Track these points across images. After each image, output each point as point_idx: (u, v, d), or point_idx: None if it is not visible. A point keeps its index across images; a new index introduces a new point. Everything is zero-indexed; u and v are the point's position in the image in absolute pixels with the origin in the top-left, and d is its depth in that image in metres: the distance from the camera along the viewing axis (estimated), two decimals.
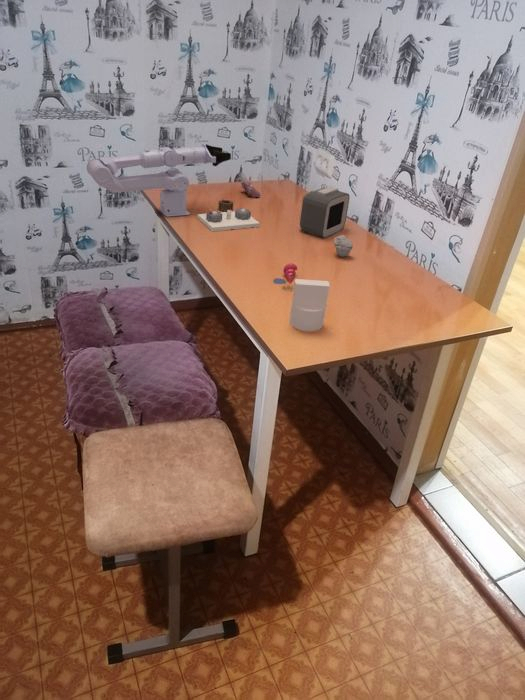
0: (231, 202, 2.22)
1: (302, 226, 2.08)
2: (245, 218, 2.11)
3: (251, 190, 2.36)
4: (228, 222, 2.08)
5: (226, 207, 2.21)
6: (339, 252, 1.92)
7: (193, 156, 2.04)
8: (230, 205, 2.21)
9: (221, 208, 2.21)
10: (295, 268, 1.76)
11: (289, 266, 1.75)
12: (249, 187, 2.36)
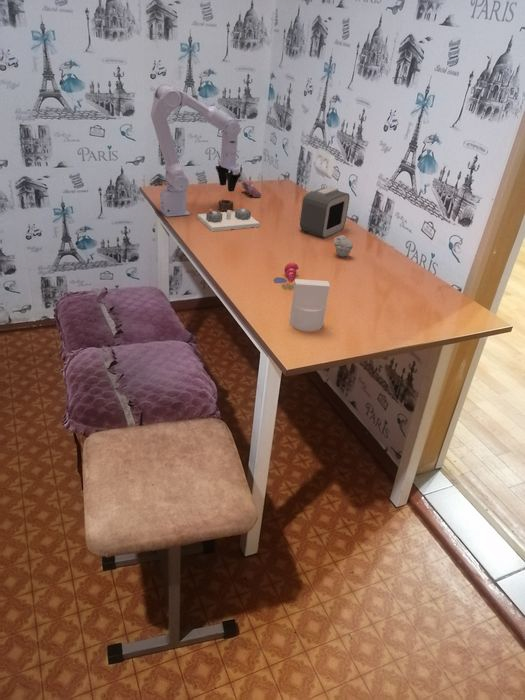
0: (231, 202, 2.22)
1: (302, 226, 2.08)
2: (245, 218, 2.11)
3: (252, 190, 2.37)
4: (228, 222, 2.08)
5: (226, 207, 2.21)
6: (339, 252, 1.92)
7: (233, 152, 2.09)
8: (230, 205, 2.21)
9: (221, 208, 2.21)
10: (296, 267, 1.76)
11: (290, 265, 1.75)
12: (250, 187, 2.36)
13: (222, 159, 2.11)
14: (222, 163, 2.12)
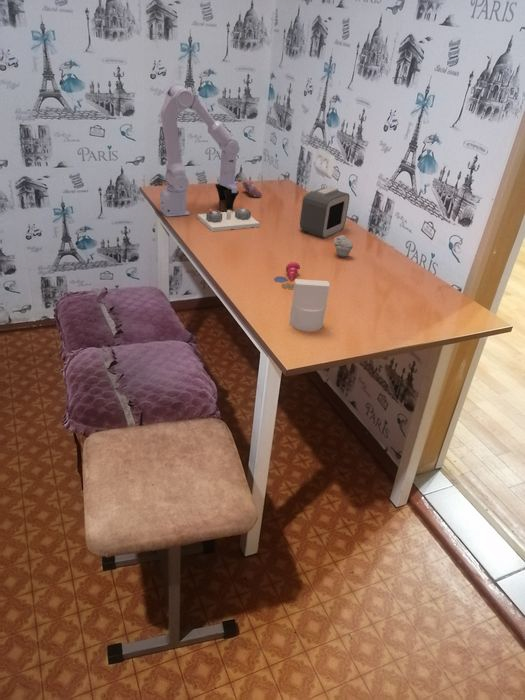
0: None
1: (302, 226, 2.08)
2: (245, 218, 2.11)
3: (252, 190, 2.37)
4: (228, 222, 2.08)
5: None
6: (339, 252, 1.92)
7: (231, 171, 2.13)
8: None
9: (221, 208, 2.21)
10: (298, 267, 1.76)
11: (291, 265, 1.75)
12: (250, 187, 2.37)
13: (221, 177, 2.15)
14: (221, 181, 2.16)
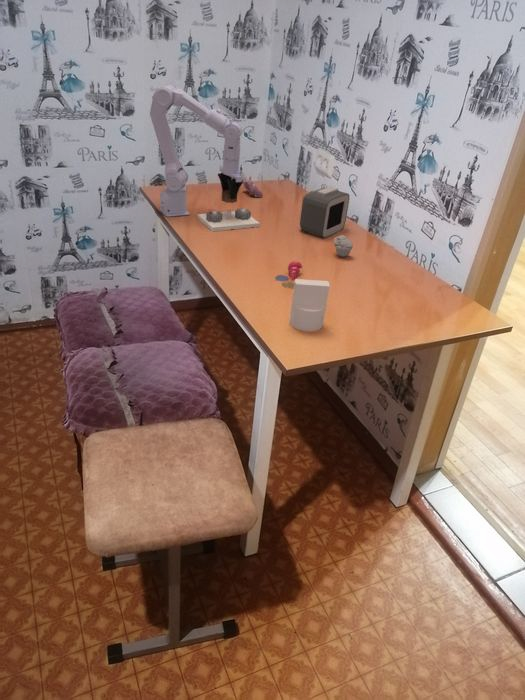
0: None
1: (302, 226, 2.08)
2: (245, 218, 2.11)
3: (253, 190, 2.37)
4: (228, 222, 2.08)
5: None
6: (339, 252, 1.92)
7: (231, 158, 2.00)
8: None
9: (224, 199, 2.08)
10: (299, 266, 1.77)
11: (293, 264, 1.76)
12: (251, 187, 2.37)
13: (224, 166, 2.02)
14: (224, 170, 2.03)
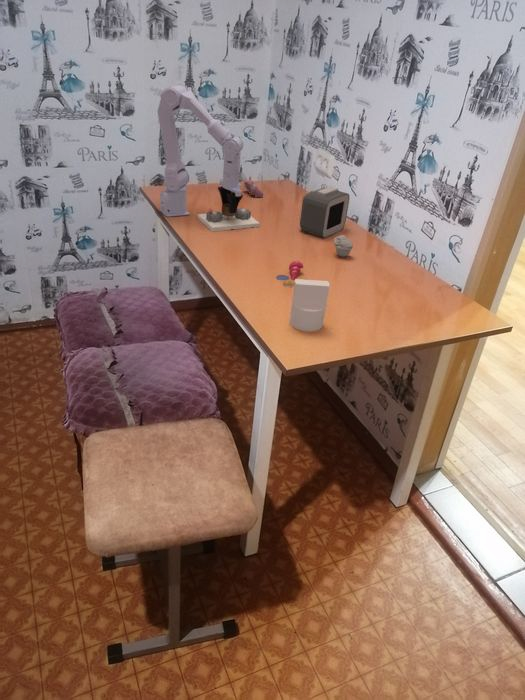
0: None
1: (302, 226, 2.08)
2: (245, 218, 2.11)
3: (254, 190, 2.37)
4: (228, 222, 2.08)
5: None
6: (339, 252, 1.92)
7: (230, 172, 1.99)
8: None
9: (224, 213, 2.08)
10: (300, 266, 1.77)
11: (294, 263, 1.76)
12: (252, 187, 2.37)
13: (224, 180, 2.01)
14: (224, 184, 2.02)
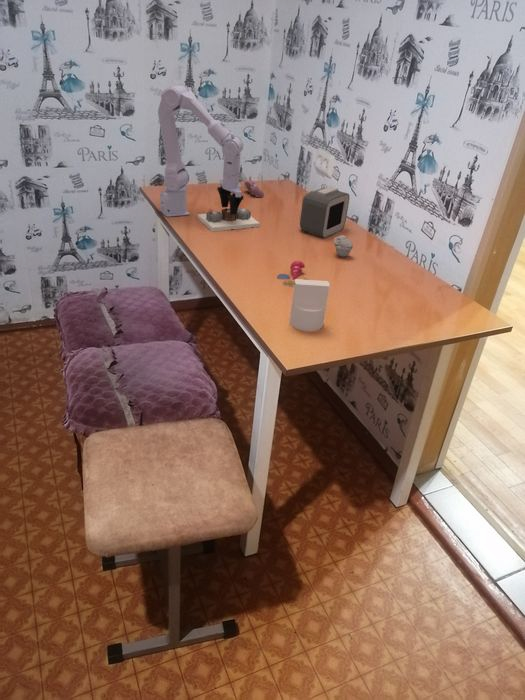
0: None
1: (302, 226, 2.08)
2: (245, 218, 2.11)
3: (255, 190, 2.37)
4: (228, 222, 2.08)
5: (229, 216, 2.08)
6: (339, 252, 1.92)
7: (230, 173, 1.99)
8: (234, 214, 2.08)
9: (224, 217, 2.08)
10: (302, 266, 1.78)
11: (295, 263, 1.77)
12: (253, 187, 2.37)
13: (224, 181, 2.02)
14: (224, 185, 2.02)
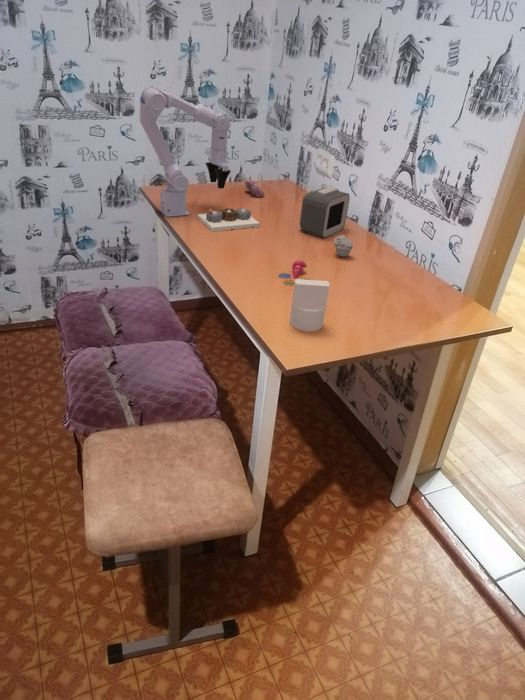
0: (235, 211, 2.09)
1: (302, 226, 2.08)
2: (245, 218, 2.11)
3: (255, 190, 2.37)
4: (228, 222, 2.08)
5: (229, 216, 2.08)
6: (339, 252, 1.92)
7: (222, 148, 2.07)
8: (234, 214, 2.08)
9: (224, 217, 2.08)
10: (303, 265, 1.78)
11: (297, 262, 1.77)
12: (253, 187, 2.37)
13: (212, 155, 2.09)
14: (212, 159, 2.10)
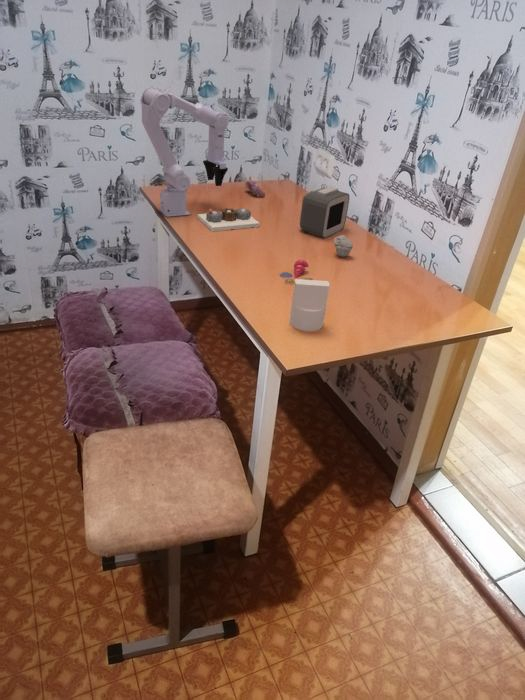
0: (235, 211, 2.09)
1: (302, 226, 2.08)
2: (245, 218, 2.11)
3: (256, 190, 2.38)
4: (228, 222, 2.08)
5: (229, 216, 2.08)
6: (339, 252, 1.92)
7: (221, 146, 2.09)
8: (234, 214, 2.08)
9: (224, 217, 2.08)
10: (305, 265, 1.78)
11: (299, 262, 1.78)
12: (254, 187, 2.37)
13: (209, 153, 2.11)
14: (209, 157, 2.12)
